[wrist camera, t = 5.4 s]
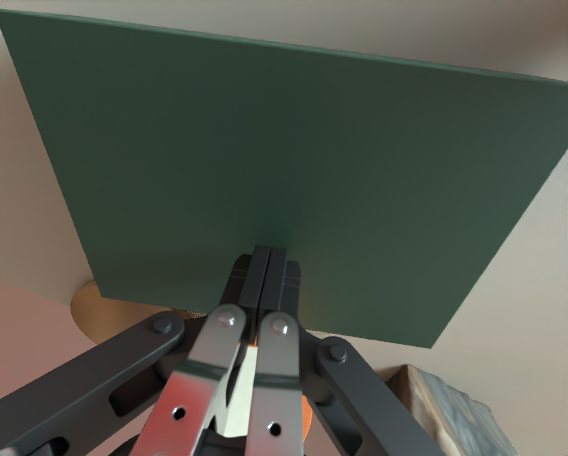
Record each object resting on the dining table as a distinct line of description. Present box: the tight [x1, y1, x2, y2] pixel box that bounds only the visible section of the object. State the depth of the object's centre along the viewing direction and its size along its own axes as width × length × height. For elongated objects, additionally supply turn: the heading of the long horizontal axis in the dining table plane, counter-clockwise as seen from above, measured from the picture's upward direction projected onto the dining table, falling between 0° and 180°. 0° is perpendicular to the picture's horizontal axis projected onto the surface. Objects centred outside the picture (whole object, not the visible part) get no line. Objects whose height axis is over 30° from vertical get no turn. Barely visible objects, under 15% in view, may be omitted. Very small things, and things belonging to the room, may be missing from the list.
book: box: [0, 9, 568, 349], centre depth 14 cm, size 20×14×4 cm
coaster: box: [71, 281, 190, 345], centre depth 24 cm, size 10×10×1 cm
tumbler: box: [224, 335, 312, 442], centre depth 17 cm, size 6×10×10 cm, turn 174°
